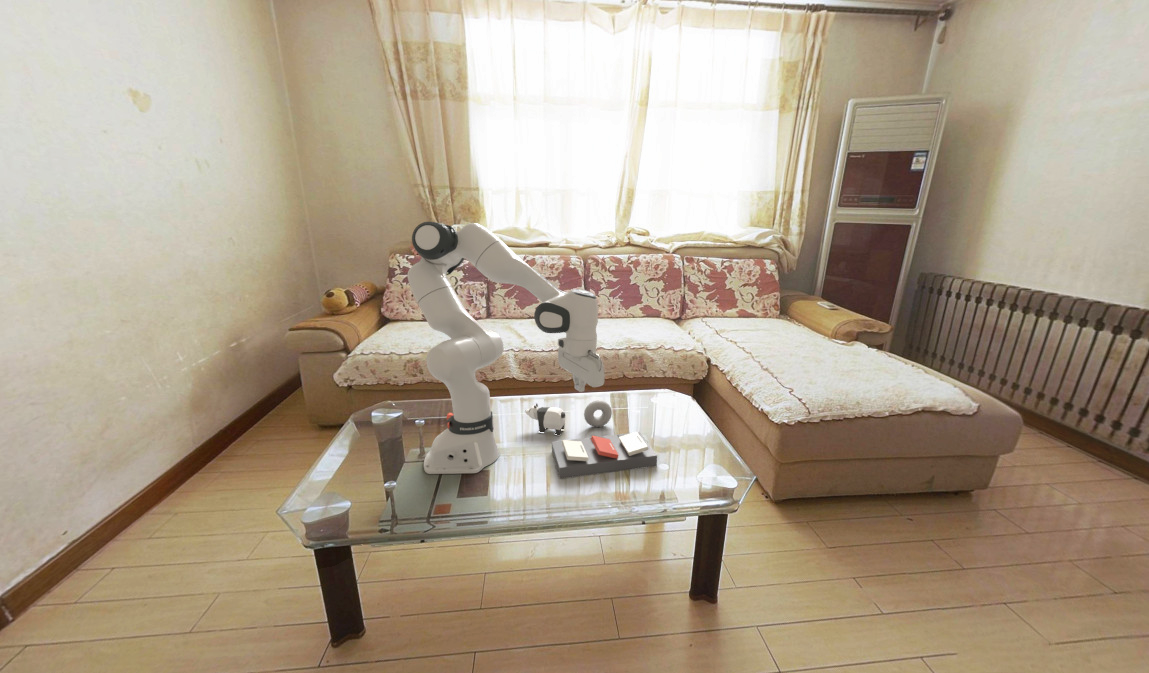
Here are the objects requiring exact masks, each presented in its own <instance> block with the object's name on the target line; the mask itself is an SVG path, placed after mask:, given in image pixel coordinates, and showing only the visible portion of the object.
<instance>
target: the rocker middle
mask: <svg viewBox="0 0 1149 673" xmlns="http://www.w3.org/2000/svg"><path fill="white" fill-rule="evenodd" d="M590 438H591V440H592V442H593V444H594V446H595V449H596V451H597V453H598V455H603V456H607V457H612V458H616V459H617V458H618V456H619V455H618V453H617V451H616V449H615V448H614V446H613V444H612V443H611V441H610V439H606V438H601V437H599V436H596V435H591V437H590Z"/></svg>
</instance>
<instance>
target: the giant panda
mask: <svg viewBox="0 0 1149 673" xmlns="http://www.w3.org/2000/svg"><path fill="white" fill-rule="evenodd" d="M524 412H525V414H526V415H528V417H529V418H530V419H533V420H536V421H537V423H538V431H540V432H544V431H545V432H546V429H545V428H548V429H549V430H554V431H555V432H556V433H555V432H554V433H555V434H557V435H560V434H561V435H562V431H561V429H564V430H565V426H566V425H565V424H566V413H565V411H564V410H563V409H562V408H560V407H555V406H553V407H552V406H550V407H547V406H546V407H544V406H541V407H539V404H538V403H537V402H536V403H535V404H533V405H531V407H529V408H528V409H525V411H524ZM548 429H547V430H548ZM557 435H556V436H557ZM561 435H560V436H561Z"/></svg>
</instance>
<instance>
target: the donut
mask: <svg viewBox="0 0 1149 673" xmlns="http://www.w3.org/2000/svg"><path fill="white" fill-rule="evenodd" d="M596 411H601V415H600V416H599V417H596V416H594V414H595V412H596ZM612 415H613V411H612V407H611V406H610V404H609V403H608V402H607V401H605V400H602V399H597V400H593V401H591V402H590V403H589V404H587V406H586V407H585V409H584V413H583V416H584V420H585V422H586V423H587V424H588V425H589V426H591V427H593V426H594V427H593V428H600V427H599V426H601V427H603V426H605V425H607V424H608V423H609V422H610V420H611V418H612Z"/></svg>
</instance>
